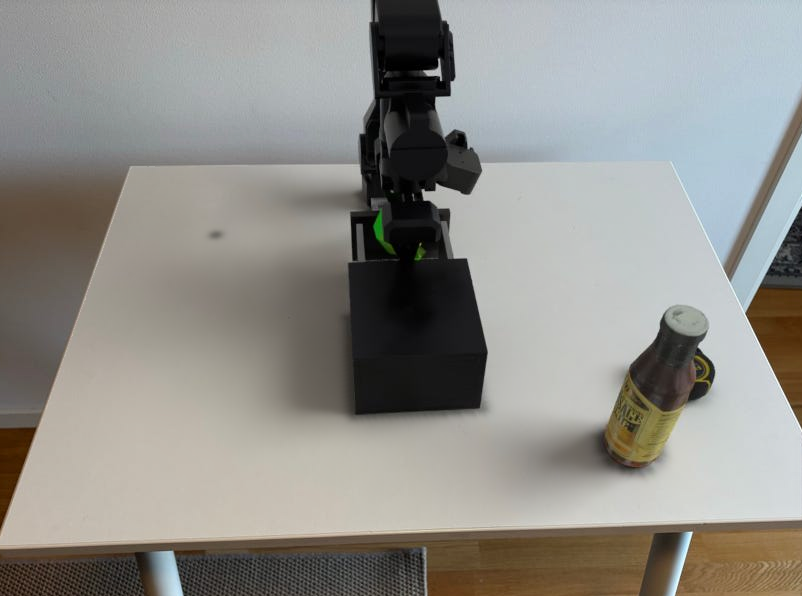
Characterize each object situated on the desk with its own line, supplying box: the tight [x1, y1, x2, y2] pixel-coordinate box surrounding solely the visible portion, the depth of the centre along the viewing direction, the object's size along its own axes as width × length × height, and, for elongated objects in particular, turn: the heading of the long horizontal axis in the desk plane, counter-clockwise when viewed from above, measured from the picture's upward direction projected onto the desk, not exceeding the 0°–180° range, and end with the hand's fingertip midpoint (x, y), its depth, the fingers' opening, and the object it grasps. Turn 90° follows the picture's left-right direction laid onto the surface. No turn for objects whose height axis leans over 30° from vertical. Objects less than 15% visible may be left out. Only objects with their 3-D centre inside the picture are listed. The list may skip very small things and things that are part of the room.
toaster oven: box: [347, 257, 489, 416], centre depth 86 cm, size 16×14×9 cm
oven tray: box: [349, 196, 455, 262], centre depth 95 cm, size 19×13×7 cm
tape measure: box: [687, 346, 716, 402], centre depth 86 cm, size 7×7×4 cm
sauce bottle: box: [603, 304, 710, 468], centre depth 74 cm, size 7×6×20 cm
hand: (404, 244), depth 92 cm, fingers closed on apple, 8 cm apart
